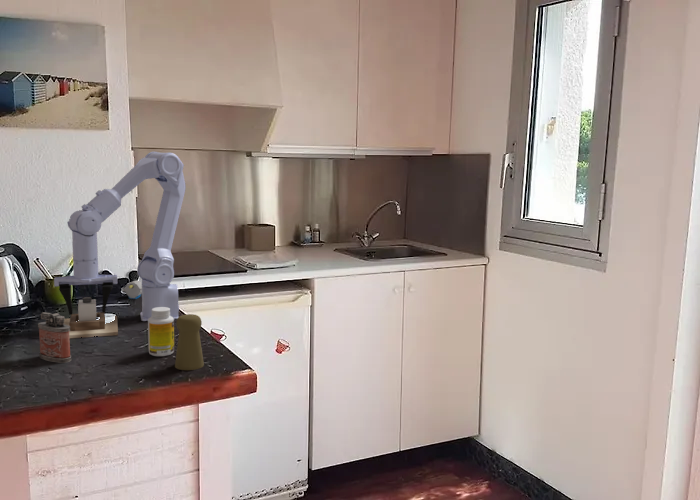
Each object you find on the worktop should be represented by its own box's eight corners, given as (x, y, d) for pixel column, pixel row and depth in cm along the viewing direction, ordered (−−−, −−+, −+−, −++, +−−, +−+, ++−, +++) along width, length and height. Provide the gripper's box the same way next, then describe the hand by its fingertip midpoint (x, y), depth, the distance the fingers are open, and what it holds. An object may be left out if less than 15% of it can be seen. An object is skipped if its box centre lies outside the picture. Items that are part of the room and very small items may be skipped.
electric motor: (119, 299, 199) (118, 282, 198) (126, 295, 203) (126, 279, 202) (140, 300, 198) (140, 284, 197) (148, 297, 202) (147, 281, 201)
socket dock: (117, 318, 177) (116, 308, 177) (118, 335, 163) (117, 324, 162) (59, 321, 173) (59, 311, 172) (55, 339, 158) (54, 327, 157)
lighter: (75, 359, 144) (73, 314, 142) (62, 363, 141) (60, 318, 139) (48, 353, 147) (46, 309, 146) (35, 357, 144) (33, 312, 143)
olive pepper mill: (200, 370, 139) (199, 319, 137) (171, 369, 139) (170, 318, 138) (206, 361, 145) (206, 312, 143) (179, 360, 145) (178, 311, 143)
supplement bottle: (176, 355, 149) (176, 310, 147) (151, 358, 146) (150, 313, 144) (171, 348, 153) (171, 305, 152) (146, 351, 151) (145, 307, 149)
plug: (96, 322, 170) (95, 295, 169) (96, 327, 166) (95, 299, 165) (79, 323, 169) (78, 296, 168) (79, 328, 164) (78, 300, 163)
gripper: (52, 263, 159) (54, 318, 161) (116, 261, 164) (118, 315, 166) (54, 258, 165) (56, 311, 167) (116, 256, 170) (117, 308, 172)
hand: (87, 312), depth 167 cm, fingers open, 7 cm apart
